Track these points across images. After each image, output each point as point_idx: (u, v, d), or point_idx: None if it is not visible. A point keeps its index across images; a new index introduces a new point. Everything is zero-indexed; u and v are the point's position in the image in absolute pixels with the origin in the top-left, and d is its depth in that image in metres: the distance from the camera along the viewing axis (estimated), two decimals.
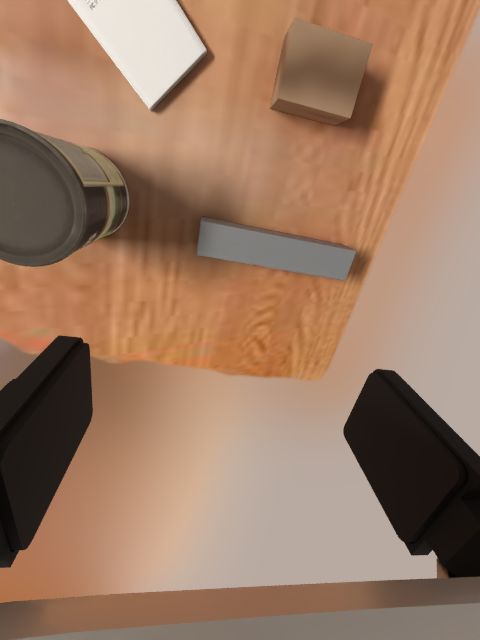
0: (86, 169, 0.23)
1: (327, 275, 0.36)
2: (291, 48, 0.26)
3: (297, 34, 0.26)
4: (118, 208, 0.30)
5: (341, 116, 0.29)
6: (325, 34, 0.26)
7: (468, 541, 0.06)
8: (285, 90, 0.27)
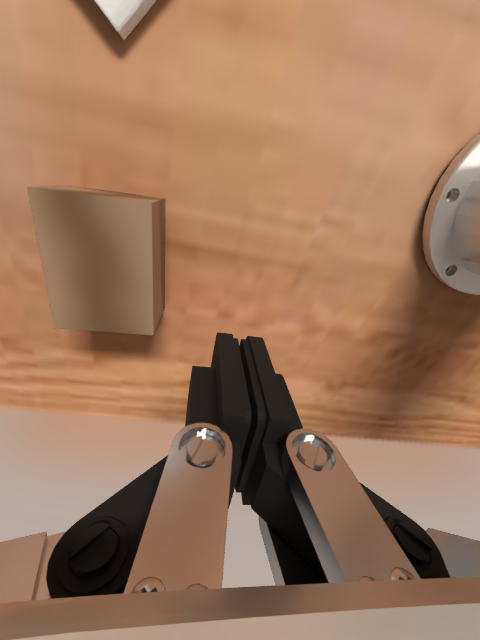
0: None
1: None
2: (110, 203, 0.14)
3: (132, 211, 0.14)
4: None
5: None
6: (144, 262, 0.16)
7: (263, 481, 0.06)
8: (45, 201, 0.14)
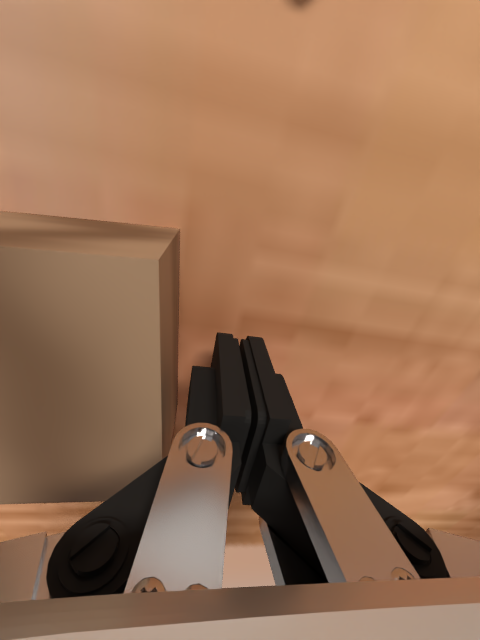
0: None
1: None
2: (52, 265, 0.05)
3: (109, 281, 0.06)
4: None
5: None
6: (143, 383, 0.07)
7: (263, 481, 0.06)
8: None
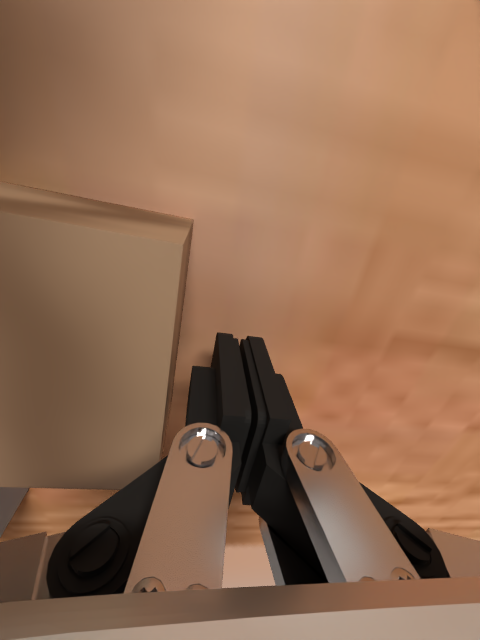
0: None
1: None
2: (74, 240, 0.05)
3: (130, 261, 0.06)
4: None
5: None
6: (151, 369, 0.07)
7: (263, 481, 0.06)
8: None
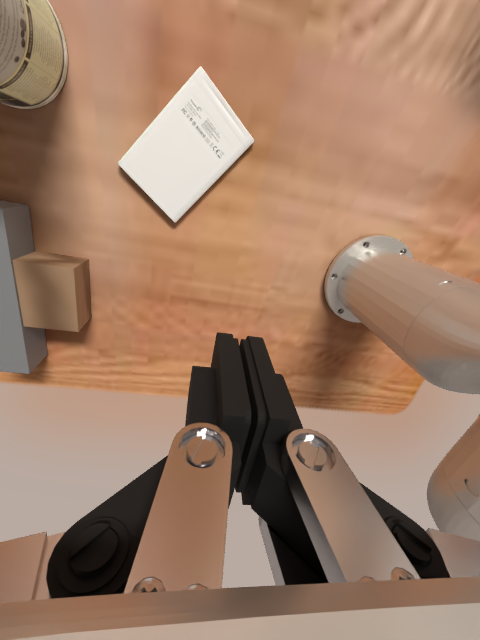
0: None
1: None
2: (53, 268, 0.30)
3: (64, 272, 0.30)
4: None
5: None
6: (71, 295, 0.31)
7: (263, 481, 0.06)
8: (21, 266, 0.29)
